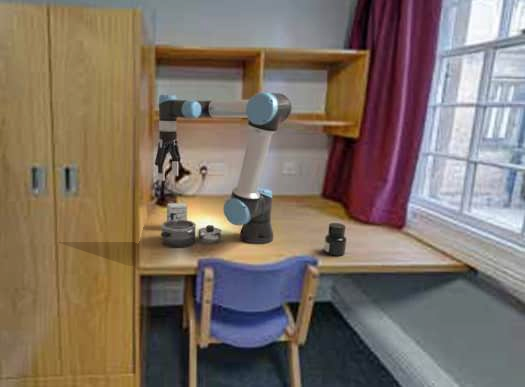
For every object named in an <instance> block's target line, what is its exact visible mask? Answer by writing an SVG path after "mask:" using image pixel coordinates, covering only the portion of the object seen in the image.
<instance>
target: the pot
mask: <svg viewBox="0 0 525 387" xmlns="http://www.w3.org/2000/svg"><path fill="white" fill-rule="evenodd" d="M196 226H197V223H195V222H194V221H192V220H188V219H187V220H169V221H167V220H166V221H163V222H162V223H161V233H160V237H161V244H162V245H163V246H164V247H167V248H172V249H173V248H174V249H182V248H189V247H191V246H193V245H195V243H196Z"/></svg>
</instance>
